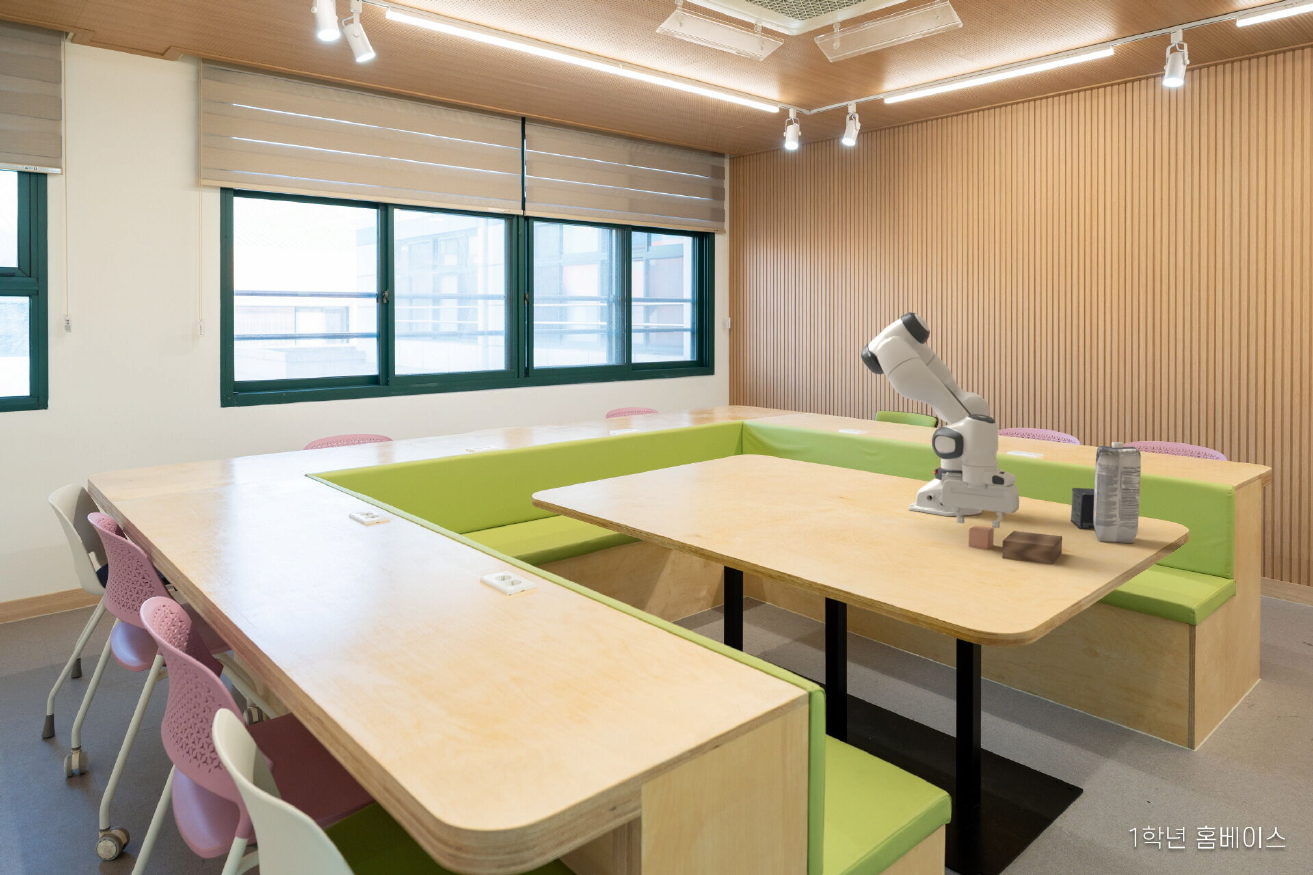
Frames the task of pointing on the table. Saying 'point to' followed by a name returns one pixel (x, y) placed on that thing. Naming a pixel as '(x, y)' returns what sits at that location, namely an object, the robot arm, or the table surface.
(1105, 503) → the juice carton
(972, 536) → the terracotta cube
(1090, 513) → the small box
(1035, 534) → the walnut block
